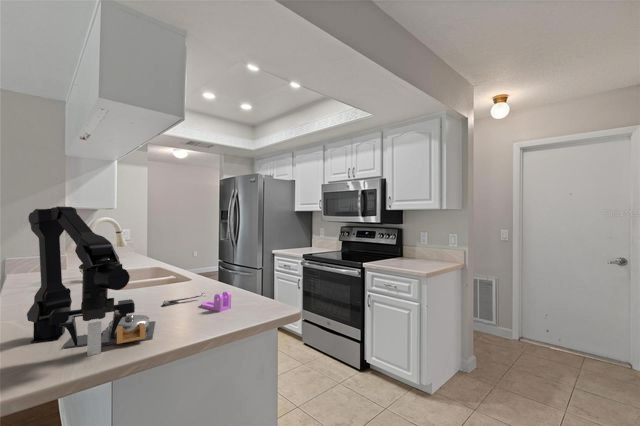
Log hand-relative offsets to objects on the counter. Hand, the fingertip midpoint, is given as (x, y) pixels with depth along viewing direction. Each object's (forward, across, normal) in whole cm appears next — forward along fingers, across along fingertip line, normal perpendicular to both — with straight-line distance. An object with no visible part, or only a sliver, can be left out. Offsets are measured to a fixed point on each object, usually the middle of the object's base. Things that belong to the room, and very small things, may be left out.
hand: (94, 341), depth 86 cm
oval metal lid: (+2, +9, +7) cm, 12 cm away
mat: (+3, -3, +11) cm, 11 cm away
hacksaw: (+4, +33, +42) cm, 53 cm away
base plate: (+3, +9, +10) cm, 13 cm away
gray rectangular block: (+3, 0, 0) cm, 3 cm away
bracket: (+3, +40, +23) cm, 46 cm away
